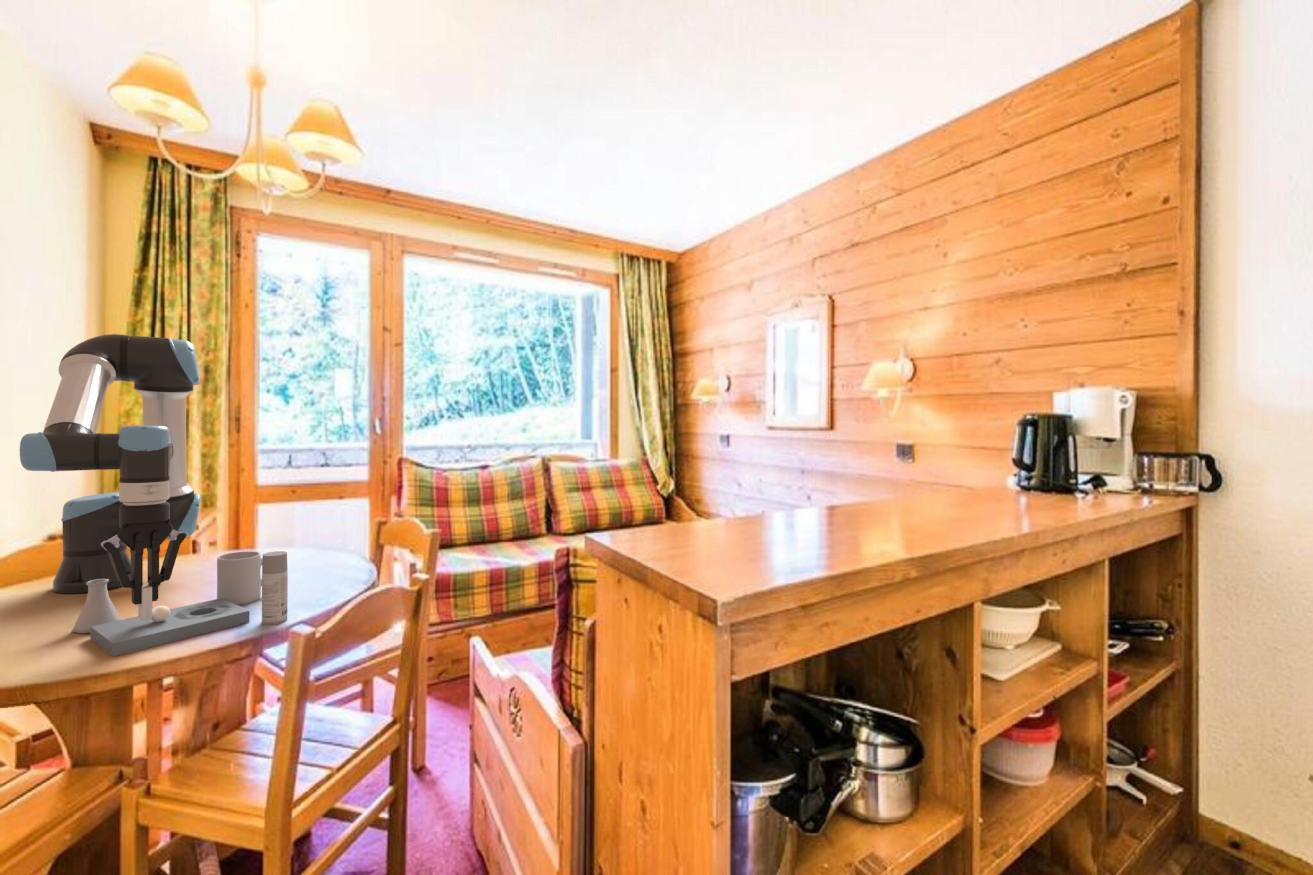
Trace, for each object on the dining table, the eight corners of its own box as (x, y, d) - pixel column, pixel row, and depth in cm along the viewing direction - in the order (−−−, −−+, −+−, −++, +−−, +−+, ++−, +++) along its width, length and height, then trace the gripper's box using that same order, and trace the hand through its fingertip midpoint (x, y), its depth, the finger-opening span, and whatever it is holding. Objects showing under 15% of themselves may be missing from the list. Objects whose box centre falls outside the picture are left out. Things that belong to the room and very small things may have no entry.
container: (280, 615, 127) (281, 549, 126) (291, 619, 124) (292, 553, 124) (257, 621, 123) (257, 554, 122) (268, 626, 120) (268, 557, 120)
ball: (153, 602, 115) (170, 606, 117) (143, 617, 114) (161, 621, 116) (158, 606, 113) (175, 609, 116) (148, 621, 112) (166, 625, 114)
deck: (90, 638, 111) (90, 626, 111) (222, 608, 130) (222, 597, 130) (112, 656, 104) (112, 643, 104) (249, 621, 122) (249, 610, 122)
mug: (220, 608, 130) (220, 561, 130) (213, 599, 136) (213, 554, 135) (281, 597, 139) (281, 553, 138) (272, 589, 145) (272, 547, 144)
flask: (95, 621, 120) (94, 575, 120) (131, 621, 121) (131, 575, 121) (62, 634, 113) (61, 586, 113) (101, 634, 114) (100, 586, 113)
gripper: (106, 508, 105) (106, 632, 105) (192, 500, 115) (192, 613, 116) (94, 503, 109) (95, 623, 109) (179, 497, 120) (178, 606, 120)
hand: (145, 618), depth 113 cm, fingers closed
